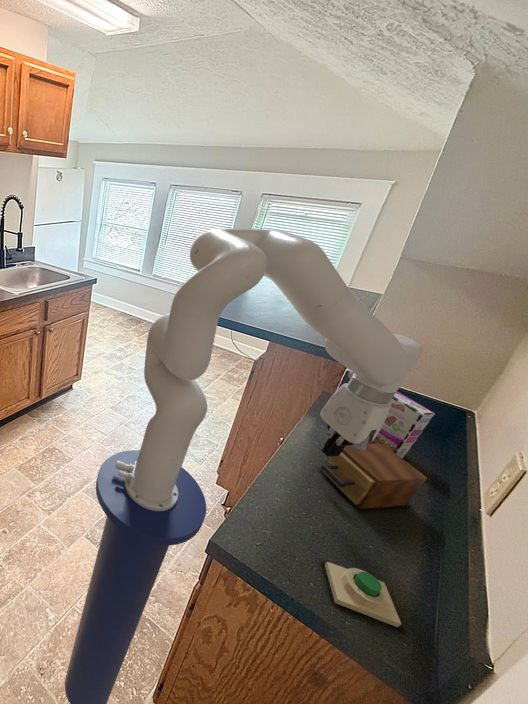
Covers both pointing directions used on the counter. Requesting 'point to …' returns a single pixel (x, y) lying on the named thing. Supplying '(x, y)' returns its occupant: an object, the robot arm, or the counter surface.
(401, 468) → the cabinet
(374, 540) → the counter surface
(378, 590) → the button
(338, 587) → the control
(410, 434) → the candy bar box
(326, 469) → the drawer
